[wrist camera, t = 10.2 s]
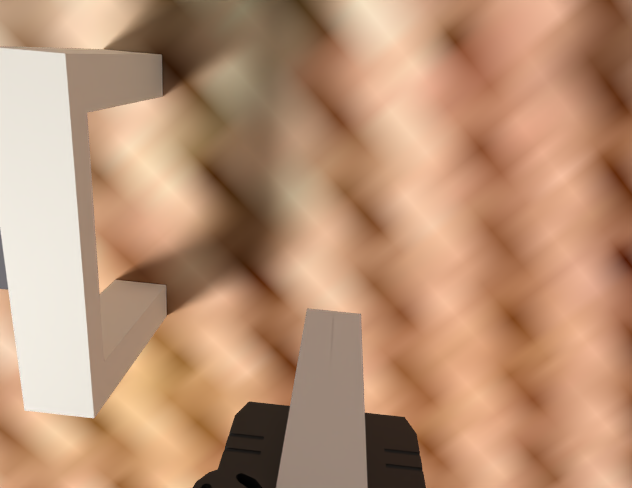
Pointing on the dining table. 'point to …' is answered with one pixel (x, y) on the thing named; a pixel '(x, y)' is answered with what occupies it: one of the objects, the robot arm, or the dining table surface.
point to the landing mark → (2, 268)
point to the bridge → (66, 226)
